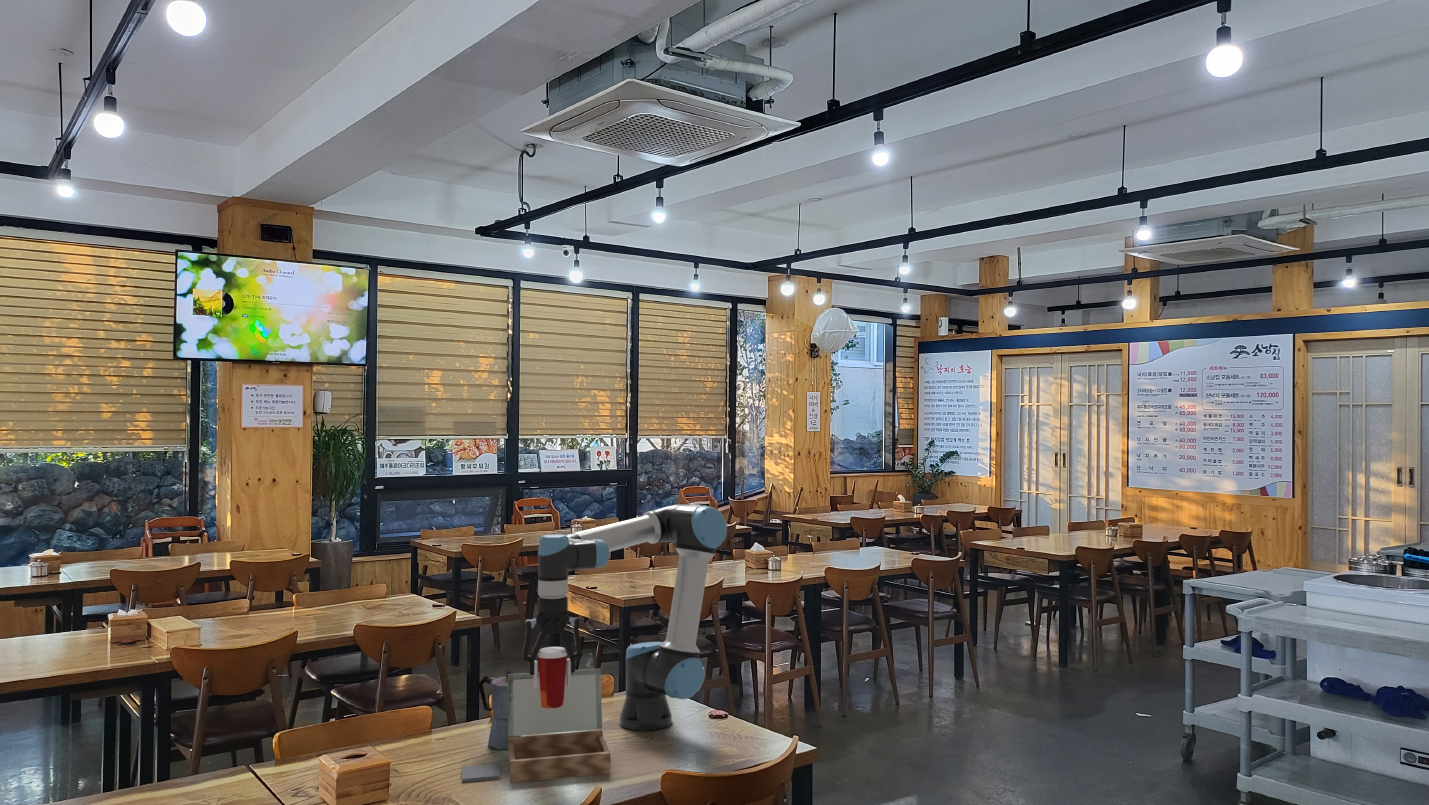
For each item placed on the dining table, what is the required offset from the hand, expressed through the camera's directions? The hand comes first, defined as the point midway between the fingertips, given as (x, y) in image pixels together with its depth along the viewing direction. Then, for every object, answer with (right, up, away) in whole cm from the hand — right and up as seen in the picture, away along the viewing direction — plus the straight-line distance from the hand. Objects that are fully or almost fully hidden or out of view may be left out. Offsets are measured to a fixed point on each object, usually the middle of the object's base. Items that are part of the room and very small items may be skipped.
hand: (552, 686), depth 234 cm
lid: (-1, -7, +9) cm, 12 cm away
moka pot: (-16, -21, +17) cm, 32 cm away
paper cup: (0, -5, 0) cm, 5 cm away
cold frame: (+2, -20, 0) cm, 20 cm away
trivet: (-17, -20, -5) cm, 27 cm away
